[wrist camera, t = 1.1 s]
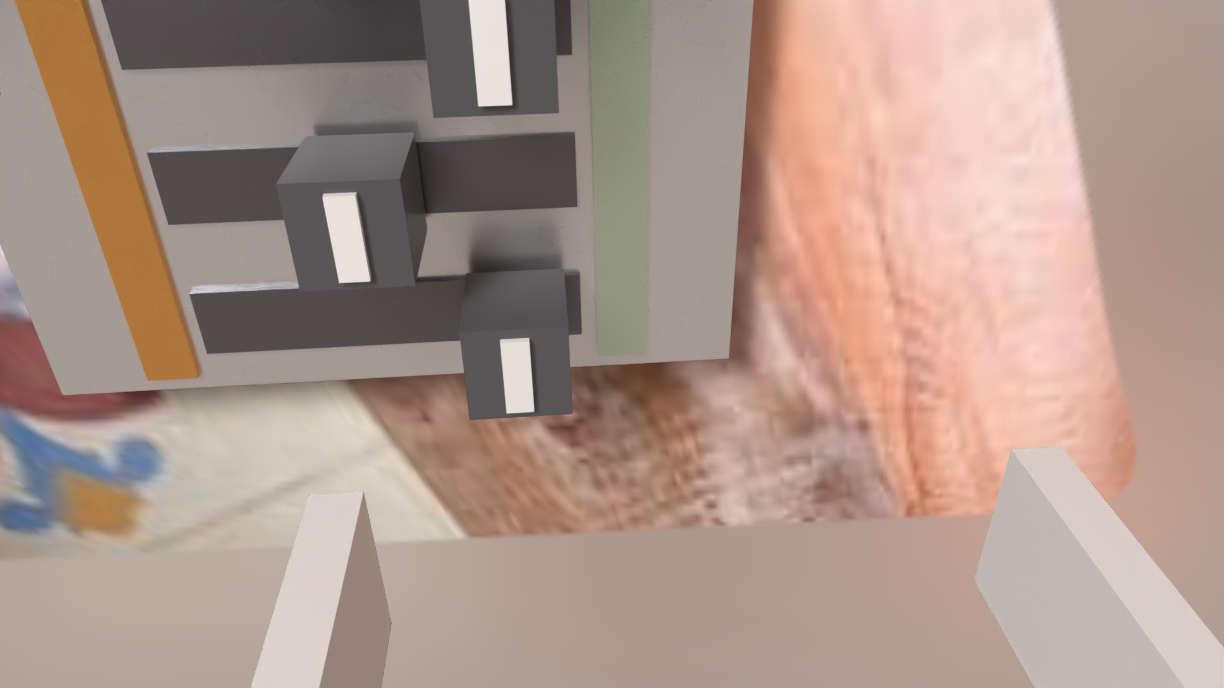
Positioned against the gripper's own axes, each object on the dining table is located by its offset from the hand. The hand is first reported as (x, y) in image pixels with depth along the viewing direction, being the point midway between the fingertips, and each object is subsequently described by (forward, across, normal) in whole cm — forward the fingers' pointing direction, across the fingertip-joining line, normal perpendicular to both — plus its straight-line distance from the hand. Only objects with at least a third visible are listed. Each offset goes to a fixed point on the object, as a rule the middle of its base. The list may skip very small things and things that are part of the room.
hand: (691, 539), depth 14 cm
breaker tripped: (+15, -7, 0) cm, 17 cm away
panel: (+18, -7, 0) cm, 19 cm away
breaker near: (+15, -3, +4) cm, 16 cm away
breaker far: (+15, -3, -5) cm, 16 cm away
